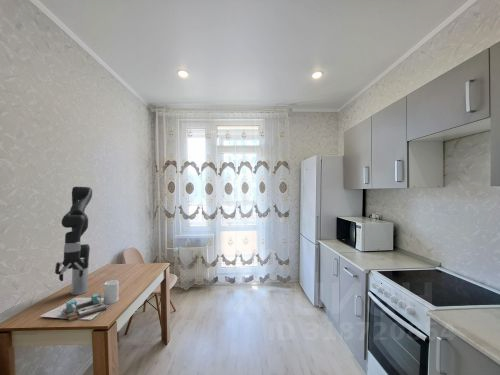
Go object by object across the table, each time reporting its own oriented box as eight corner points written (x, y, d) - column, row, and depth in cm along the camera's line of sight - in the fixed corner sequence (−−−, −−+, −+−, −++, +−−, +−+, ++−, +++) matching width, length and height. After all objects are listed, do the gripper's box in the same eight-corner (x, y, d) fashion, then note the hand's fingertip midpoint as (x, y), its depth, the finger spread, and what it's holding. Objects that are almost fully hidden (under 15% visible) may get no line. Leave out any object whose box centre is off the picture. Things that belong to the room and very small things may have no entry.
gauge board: (62, 311, 137) (63, 306, 137) (98, 301, 150) (98, 296, 151) (69, 321, 126) (69, 315, 126) (106, 309, 140) (106, 304, 140)
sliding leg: (66, 310, 136) (66, 301, 136) (74, 307, 139) (74, 299, 139) (70, 316, 129) (70, 307, 129) (78, 313, 132) (79, 304, 132)
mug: (109, 296, 158) (109, 278, 159) (122, 295, 159) (123, 278, 160) (100, 304, 147) (101, 285, 147) (115, 303, 148) (116, 284, 148)
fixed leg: (91, 302, 145) (91, 294, 145) (98, 300, 148) (98, 292, 148) (96, 308, 139) (96, 299, 139) (103, 305, 142) (104, 297, 142)
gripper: (85, 247, 141) (83, 274, 140) (54, 251, 130) (53, 280, 129) (89, 249, 136) (87, 277, 135) (58, 253, 125) (56, 284, 124)
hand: (71, 278), depth 132 cm, fingers open, 8 cm apart
